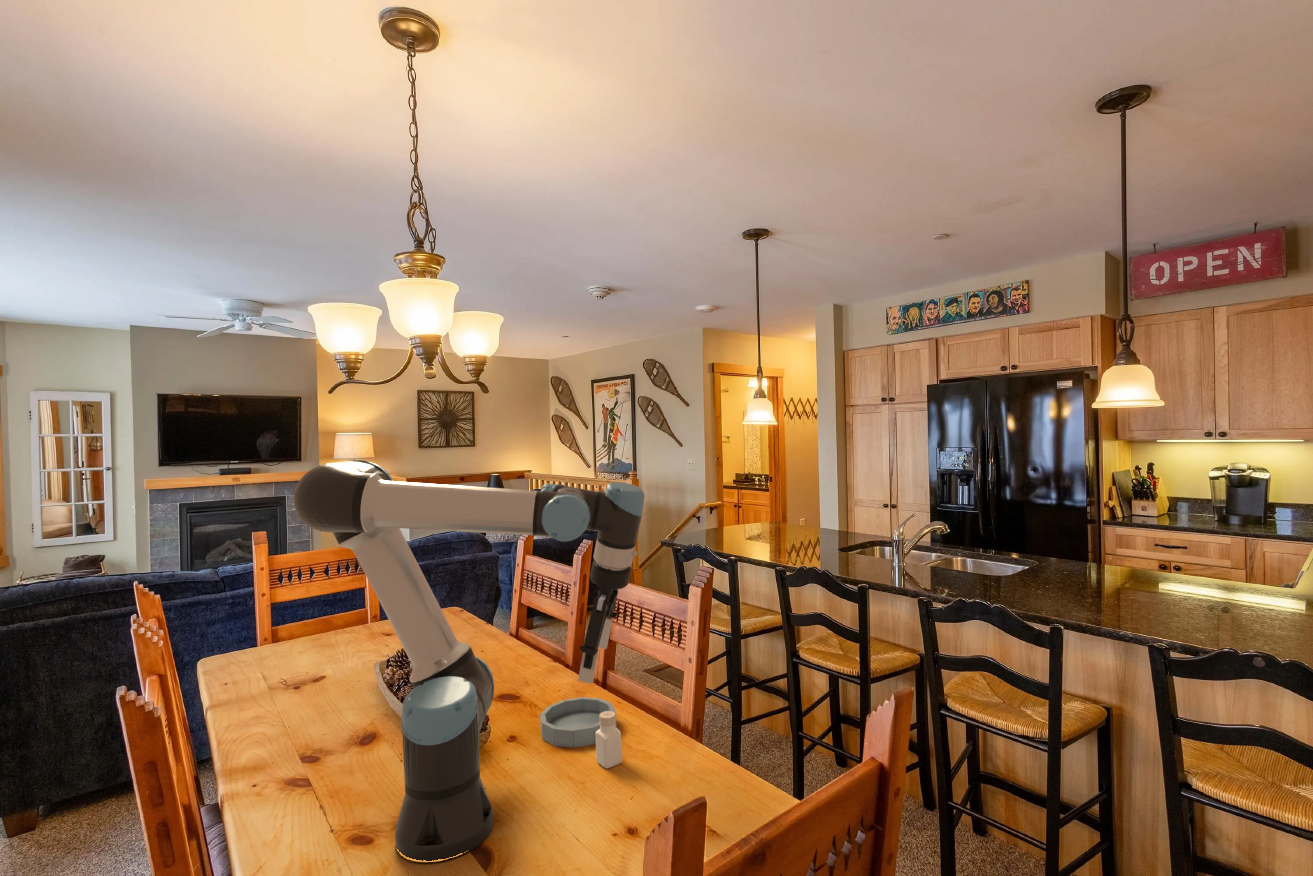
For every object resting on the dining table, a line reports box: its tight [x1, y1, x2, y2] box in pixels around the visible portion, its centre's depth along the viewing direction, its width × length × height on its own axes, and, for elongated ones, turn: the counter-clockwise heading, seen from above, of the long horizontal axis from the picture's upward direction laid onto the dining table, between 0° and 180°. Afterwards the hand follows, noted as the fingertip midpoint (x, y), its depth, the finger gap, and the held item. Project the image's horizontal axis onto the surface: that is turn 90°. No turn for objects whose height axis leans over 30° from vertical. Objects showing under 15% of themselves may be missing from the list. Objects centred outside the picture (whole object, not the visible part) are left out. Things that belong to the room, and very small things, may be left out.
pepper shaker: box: [595, 711, 623, 769], centre depth 122 cm, size 4×4×10 cm
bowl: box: [539, 696, 617, 749], centre depth 137 cm, size 16×16×4 cm
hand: (593, 663), depth 124 cm, fingers open, 13 cm apart
